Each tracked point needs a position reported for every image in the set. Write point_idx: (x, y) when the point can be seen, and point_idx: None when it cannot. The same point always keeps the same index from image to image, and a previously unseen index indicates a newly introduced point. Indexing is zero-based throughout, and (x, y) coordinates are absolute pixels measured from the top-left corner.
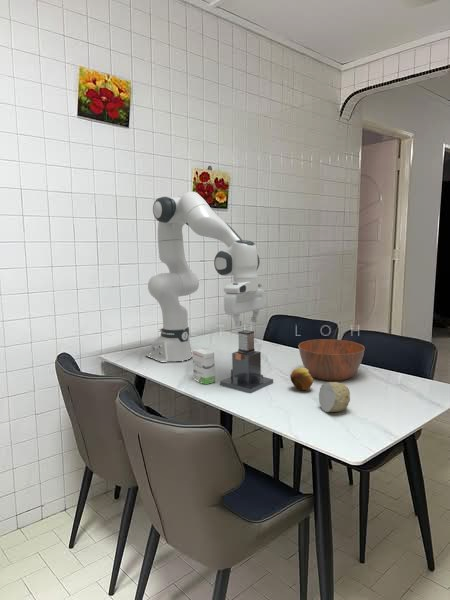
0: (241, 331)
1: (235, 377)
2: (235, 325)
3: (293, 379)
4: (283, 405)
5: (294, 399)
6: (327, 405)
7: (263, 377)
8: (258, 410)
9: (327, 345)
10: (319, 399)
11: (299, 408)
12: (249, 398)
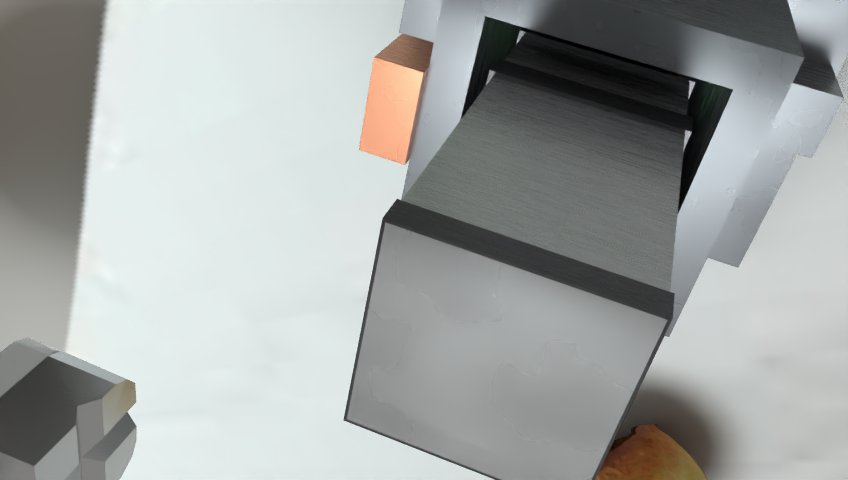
0: (447, 278)
1: (407, 5)
2: (24, 344)
3: (677, 445)
4: (312, 376)
5: None
6: None
7: (769, 170)
8: (173, 266)
9: None
10: None
11: (316, 449)
12: (308, 163)
